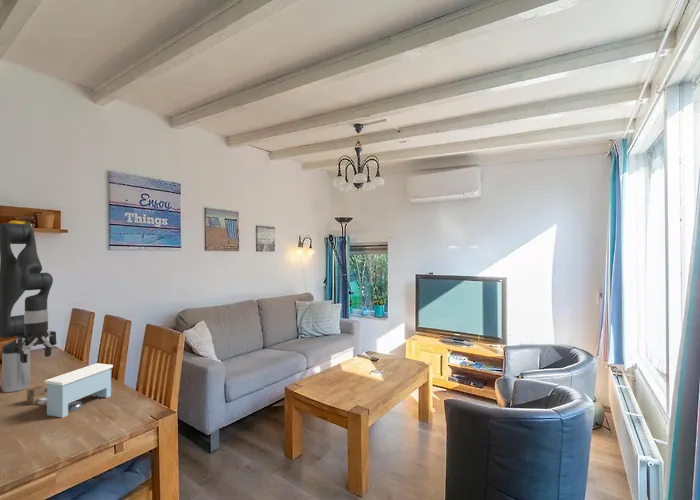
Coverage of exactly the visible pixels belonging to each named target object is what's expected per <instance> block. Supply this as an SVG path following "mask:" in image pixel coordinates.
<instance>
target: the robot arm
mask: <svg viewBox="0 0 700 500" xmlns="http://www.w3.org/2000/svg"><path fill="white" fill-rule="evenodd" d="M11 245H25V246H24V247H23V249H22V250H21V251H20V252H19V253H18V255H17V257H16V256H15V254H14V253H13V250H12V247H11ZM42 271H43V266H42V263H41V261H40V258H39V255H38V250H37V243H36V236H35V231H34V229H33V226H31V224H27V223H26V224H25V223H11V222H10V223H6V222H5V223H2V224H0V338H1V339H7V338H12V337H16V338H15V339H14V340H12V341H10V342H9V343H6V344H5V345H4V346H2V349H1V352H2V354H1V355H2V357H1V360H2V365H1V367H2V368H1V379H0V380H1V383H0V384H1V385H0V386H1V388H0V389H1V390H2V391H1V392H3V393H12V392H19V391H23V390H25V389H29V387H30V386H31V349H32V347H36V346H39V345H43V347H44V357H46V358H47V357H51V355H52V347H54V346H56V345H57V344H58V343H57V333H56V331H55V330H49V312H48V298H49V294H50V290H51V289H52V285H53V283H54V278H53V276H52V274H51V273H49V272H42ZM37 290H39V292H38V293H36V294H33V295H30V296H29V295H28V296H26V297H25V298H24V314H20V315H12V311H13V308H14V306H15V304H16V303H17V302H18V300H19V299H20V298H21V297H22V296H23V294H24V293H25V292H26V291H37ZM47 338H48V339H47Z"/></svg>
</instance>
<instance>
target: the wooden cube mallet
mask: <svg viewBox="0 0 700 500" xmlns="http://www.w3.org/2000/svg"><path fill="white" fill-rule="evenodd" d="M26 404H28V405H32V406H35V405H41V406H47V397H46V386H44V385H36V386H33V387H30V388H26Z"/></svg>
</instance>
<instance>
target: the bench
mask: <svg viewBox="0 0 700 500" xmlns="http://www.w3.org/2000/svg"><path fill="white" fill-rule="evenodd" d="M112 368H114V364H110V363H109V364H106V363H98V362H97V363H96V362H95V363H92V364H90V365H87V366H85V367H81V368H78V369H75V370H72V371H68V372H66V373H63V374H60V375H57V376H54V377H51V378H49V379H46V380H44V384H46V398H47V405H46V416H49V417H50V416H51V417H56V418H57V417H58V418H65V417H68V416H69V411H68V404H69V403H72V402H77V400H81V399H82V398H85V397H88V396H91V395H92V397H96V396H97V398H103V397H105V399H108V398H110V397H112ZM107 397H108V398H107Z"/></svg>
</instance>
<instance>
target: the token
mask: <svg viewBox="0 0 700 500" xmlns="http://www.w3.org/2000/svg"><path fill="white" fill-rule="evenodd" d="M82 408H83V401H81V400H80V401H77V400H76V401H73V402H71V403H68V412H76V411H78V410H80V409H82Z"/></svg>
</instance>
